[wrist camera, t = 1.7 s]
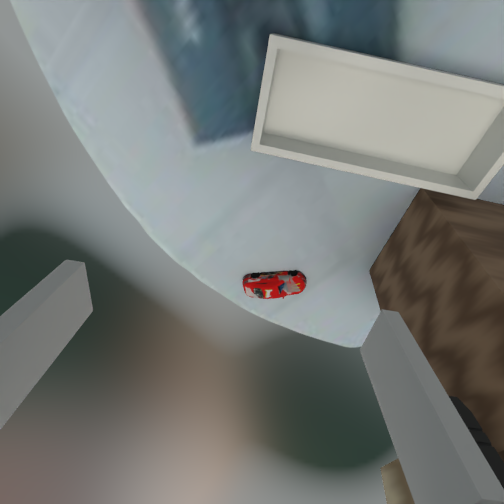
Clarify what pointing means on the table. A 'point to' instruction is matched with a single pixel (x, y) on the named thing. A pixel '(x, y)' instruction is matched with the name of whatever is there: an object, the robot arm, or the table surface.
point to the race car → (274, 284)
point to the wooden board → (396, 484)
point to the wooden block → (452, 296)
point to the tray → (379, 117)
